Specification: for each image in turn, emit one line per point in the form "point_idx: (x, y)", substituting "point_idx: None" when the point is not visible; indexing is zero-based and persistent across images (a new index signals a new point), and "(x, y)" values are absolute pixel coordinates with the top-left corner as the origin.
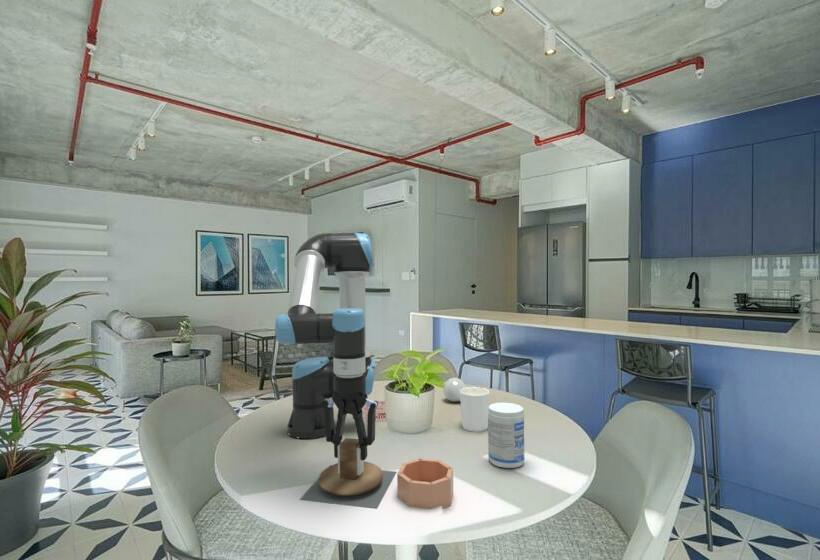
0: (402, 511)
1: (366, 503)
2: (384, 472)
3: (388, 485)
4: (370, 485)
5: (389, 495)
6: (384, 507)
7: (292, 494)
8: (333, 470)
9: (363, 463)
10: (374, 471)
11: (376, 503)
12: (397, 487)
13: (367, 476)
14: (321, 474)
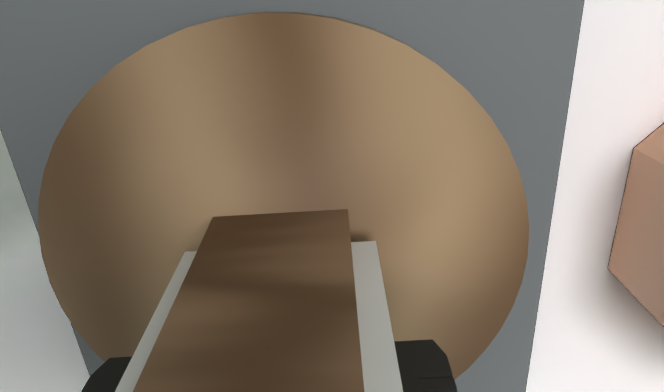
0: (639, 348)
1: (459, 381)
2: (482, 7)
3: (549, 192)
4: (471, 346)
5: (553, 237)
6: (543, 339)
7: (13, 347)
8: (117, 242)
9: (381, 277)
10: (449, 177)
11: (512, 372)
12: (651, 313)
13: (416, 257)
14: (74, 309)
